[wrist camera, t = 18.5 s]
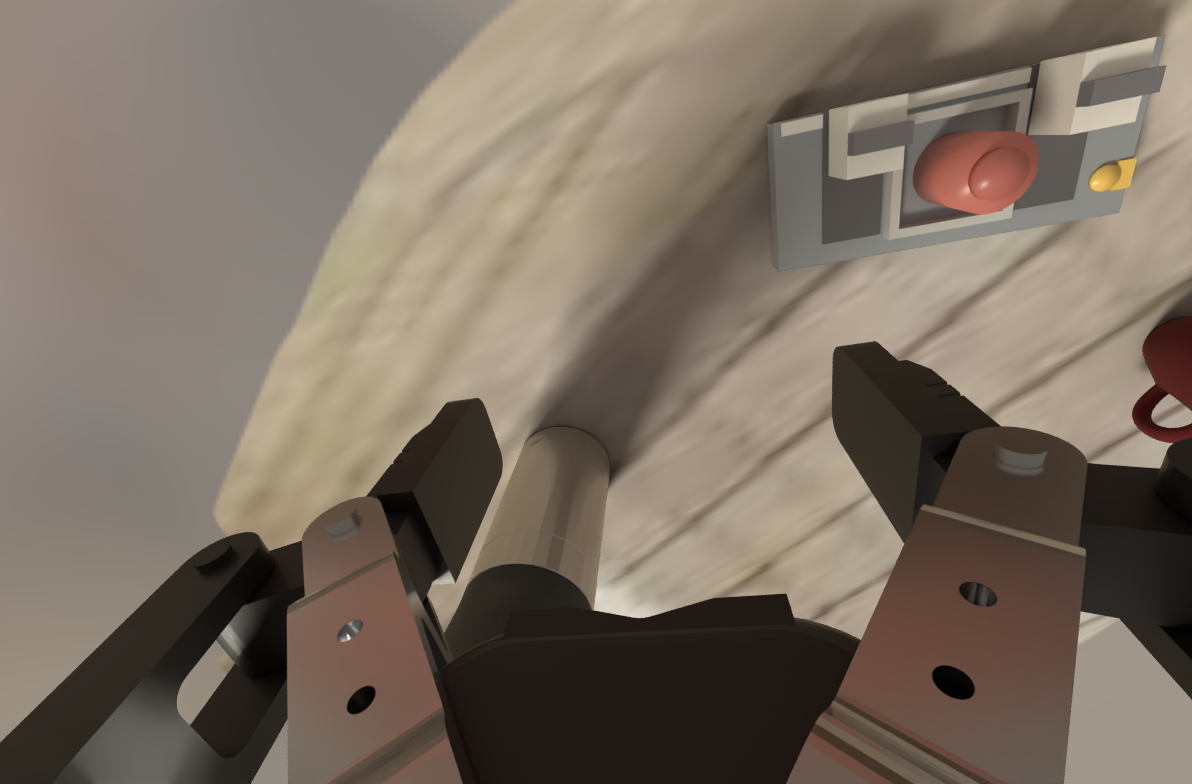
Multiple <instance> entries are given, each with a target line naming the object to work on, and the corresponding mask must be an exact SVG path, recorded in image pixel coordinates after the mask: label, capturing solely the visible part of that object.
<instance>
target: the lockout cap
mask: <svg viewBox="0 0 1192 784" xmlns="http://www.w3.org/2000/svg"><path fill="white" fill-rule="evenodd" d="M1038 165H1039V153H1038V149H1037V146H1036V144H1035V143H1034V141H1033V140H1032V139H1031V138H1030V137H1028V136H1027V135H1025V134H1023V133H1020V132H1016V131H966V132H952V133H948V134H945V135H943V136H941V137H939V138H937V139H936V140H934V141H933V142H932V143H930V144H929V145H928V146H927V147H926V148H925V149H924V151H923V152H922V153H921V155H920V156H919V158H918V160H917V162H916V164H915V167H914V170H913V186H914V189H915V191H916V193H917V194H918V196H919V197H920V198H922V199H923V200H925V201H927V202H929V203H933V204H937V205H941V206H945V207H949V208H953V209H958V210H962V211H966V212H970V213H974V214H990V213H994V212H997V211H1000V210H1002V209H1004V208H1006V207H1008V206H1010V205H1011V204H1013V203H1014V202H1015V201H1017V200H1018V199H1019V198H1020V197H1021V196H1022V195H1023V194H1024V193H1025V192H1026V190H1027V189H1028V188H1029V186H1030V185H1031V183H1032V182H1033V180H1034V178H1035V175H1036V173H1037V170H1038Z"/></svg>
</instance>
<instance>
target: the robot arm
mask: <svg viewBox="0 0 1192 784" xmlns="http://www.w3.org/2000/svg"><path fill="white" fill-rule="evenodd" d="M832 418H833V424H834V429H835V432H836V435H837V437H838V439H839V441H840V443H841V444H842V446H843V447H844V449H845V451H846V452H847V454H848V455H849V457H850V458H851V460H852V462H853V463H854V465H855V466H856V468H857V470H858V471H859V473H860V474H861V476H862V477H863V479H864V481H865V482H866V484H867V485H868V487H869V489H870V490H871V492H872V493H873V495H874V496H875V498H876V500H877V501H878V503H879V504H880V506H881V508H882V509H883V511H884V512H885V514H886V515H887V517H888V519H889V520H890V522H891V523H892V525H893V527H894V528H895V530H896V531H897V533H898V534H899V536H900V538H901V539H902V541H903V542H904V546H903V548H902V550H901V553H900V555H899V557H898V559H897V561H896V564H895V566H894V568H893V570H892V573H891V575H890V577H889V579H888V582H887V584H886V586H885V588H884V590H883V593H882V595H881V597H880V599H879V602H878V604H877V606H876V608H875V610H874V613H873V615H872V617H871V619H870V622H869V624H868V626H867V628H866V630H865V633H864V635H863V637H862V639H861V640H860V639H858V638H856V637H854V636H852V635H850V634H848V633H846V632H843V631H840V630H838V629H835V628H832V627H830V626H827V625H824V624H820V623H817V622H813V621H809V620H805V619H800V618H795V617H793V614H792V610H791V607H790V604H789V600H788V597H787V594H773V595H757V596H740V597H724V598H712V599H709V600H705V601H702V602H699V603H695V604H692V605H688V606H685V607H681V608H678V609H675V610H671V611H668V612H664V613H661V614H657V615H654V616H651V617H646V618H632V617H627V616H621V615H616V614H610V613H605V612H599V611H594V603H595V594H596V586H597V575H598V567H599V558H600V550H601V541H602V533H603V525H604V516H605V508H606V499H607V492H608V483H609V475H610V462H609V458H608V455H607V453H606V451H605V449H604V448H603V446H602V445H601V444H600V443H599V442H598V441H597V440H596V439H595V438H593V437H592V436H591V435H589V434H587V433H585V432H584V431H581V430H578V429H575V428H570V427H551V428H547V429H544V430H541V431H539V432H537V433H535V434H534V435H533V436H532V437H530V438H529V439H528V441H527V442H526V443H525V444H524V447H523V449H522V451H521V453H520V456H519V458H518V461H517V463H516V466H515V468H514V470H513V473H512V475H511V477H510V480H509V482H508V485H507V487H506V490H505V492H504V495H503V497H502V500H501V502H500V505H499V507H498V510H497V512H496V515H495V517H494V520H493V522H492V525H491V527H490V530H489V532H488V534H487V537H486V539H485V542H484V544H483V547H482V549H481V552H480V555H479V557H478V560H477V562H476V565H475V567H474V570H473V572H472V575H471V577H470V580H469V582H468V585H467V587H466V590H465V592H464V595H463V597H462V600H461V602H460V604H459V606H458V608H457V610H456V612H455V614H454V616H453V618H452V620H451V622H450V623H449V625H448V627H447V629H446V631H445V633H443V630H442V628H441V625H440V623H439V620H438V617H437V615H436V612H435V610H434V607H433V605H432V603H431V601H430V599H429V597H428V595H427V593H428V591H429V589H430V587H431V585H437V584H451V583H456V581H457V578H458V576H459V574H460V571H461V569H462V567H463V564H464V562H465V560H466V557H467V555H468V553H469V550H470V548H471V546H472V543H473V541H474V539H475V536H476V534H477V532H478V529H479V527H480V525H481V522H482V520H483V518H484V515H485V513H486V511H487V508H488V506H489V504H490V501H491V499H492V497H493V494H494V492H495V490H496V487H497V485H498V483H499V480H500V478H501V475H502V467H503V463H502V455H501V451H500V448H499V445H498V443H497V440H496V437H495V434H494V431H493V428H492V425H491V422H490V420H489V417H488V414H487V411H486V408H485V406H484V404H483V402H482V401H481V400H480V399H479V398H473V399H466V400H459V401H452V402H447V403H446V404H445V405H444V407H443V408H442V409H441V410H440V412H439V413H438V414H437V416H436V417H435V418H434V420H433V421H432V422H431V424H429V425H428V426H427V427H425V428H424V429H423V430H421V431H420V432H419V433H417V434H416V435H415V436H413V437H412V438H411V440H410V441H409V442H408V443H407V445H406V446H405V447H404V449H403V450H402V453H400V454H399V455H398V456H397V457H396V459H395V460H394V461H393V463H394V464H392V465H390V466H389V468H388V469H387V470H386V472H385V473H384V474H383V475H382V477H381V478H380V479H379V481H378V482H377V483H376V484H375V486H374V487H373V488H372V490H371V491H370V492H369V493H368V495H367V496H366V497H358V498H354V499H350V500H347V501H345V502H342V503H340V504H338V505H336V506H334V507H332V508H330V509H329V510H327V511H325V512H324V513H322V514H321V515H320V516H319V517H317V518H316V519H315V520H314V521H313V522H312V523H311V524H310V525H309V526H308V528H307V529H306V530H305V532H304V534H303V537H302V541H299V542H296V543H293V544H290V545H287V546H284V547H281V548H277V549H274V550H271V551H269V550H268V549H267V547H266V546H265V544H264V543H263V541H262V540H261V538H260V537H259V536H258V535H257V534H256V533H253V532H244V533H239V534H235V535H231V536H229V537H226V538H223V539H221V540H219V541H217V542H215V543H213V544H211V545H209V546H207V547H206V548H204V549H202V550H201V551H199V552H198V553H197V554H195V555H194V556H192V557H191V558H190V559H189V560H187V561H186V562H185V563H184V564H183V565H182V566H181V567H180V568H179V569H178V570H177V571H176V572H175V573H174V574H173V575H172V576H170V577H169V578H168V579H167V580H166V581H165V582H164V583H163V584H162V585H161V586H160V587H159V588H158V589H157V590H156V591H155V592H154V593H153V594H152V595H151V596H150V597H149V598H148V599H147V600H146V601H145V602H144V603H143V604H142V605H141V606H140V607H139V608H138V609H137V610H136V611H135V612H134V613H133V614H132V615H130V617H129V618H127V619H126V620H125V621H124V622H123V623H122V624H121V625H120V626H119V627H118V628H117V629H116V630H115V631H114V632H113V633H112V634H111V635H110V636H109V637H108V638H107V639H106V640H105V641H104V642H103V643H102V644H101V645H100V646H99V647H98V648H97V649H96V650H95V651H94V652H93V653H92V654H91V655H89V656H88V658H86V660H84V661H83V662H82V663H81V664H80V665H79V666H78V667H77V668H76V669H75V670H74V671H73V672H72V673H71V674H70V675H69V676H68V677H67V678H66V679H65V680H64V681H63V682H62V683H61V684H60V685H59V686H58V687H57V688H56V689H55V690H54V691H53V692H52V693H51V694H50V695H49V696H47V697H46V698H45V699H44V701H42V702H41V703H40V704H39V705H38V706H37V707H36V708H35V709H34V710H33V711H32V712H31V713H30V714H29V715H28V716H27V717H26V718H25V719H24V720H23V721H22V722H21V723H20V724H19V725H18V726H17V727H16V728H15V729H14V730H13V731H12V732H11V733H10V734H9V735H7V736H6V737H5V738H4V739H3V741H1V742H0V784H251V782H252V780H253V779H254V777H255V775H256V773H257V772H258V770H259V768H260V766H261V765H262V763H263V761H264V759H265V757H266V756H267V754H268V752H269V750H270V749H271V747H272V745H273V743H274V742H275V740H276V738H277V736H278V734H279V733H280V731H281V729H282V728H283V726H284V724H285V722H286V720H287V719H288V784H1064V776H1065V766H1066V756H1067V745H1068V735H1069V725H1070V715H1071V704H1072V694H1073V684H1074V673H1075V664H1076V653H1077V643H1078V633H1079V623H1080V612H1081V611H1082V612H1087V613H1093V614H1099V615H1104V616H1110V617H1115V618H1120V620H1121V621H1122V622H1123V623H1124V624H1125V625H1126V626H1127V628H1128V629H1129V630H1130V631H1131V632H1132V633H1133V634H1134V635H1135V637H1136V638H1137V639H1138V640H1139V641H1140V642H1141V643H1142V644H1143V645H1144V647H1145V648H1146V649H1147V650H1148V651H1149V652H1150V653H1151V654H1152V656H1153V657H1154V658H1155V659H1156V660H1157V661H1158V662H1159V663H1160V664H1161V666H1162V667H1163V668H1164V669H1165V670H1166V671H1167V672H1168V673H1169V675H1170V676H1171V677H1172V678H1173V679H1174V680H1175V681H1176V682H1177V683H1178V684H1179V686H1180V687H1181V688H1182V689H1183V690H1184V691H1185V692H1186V694H1187V695H1188V696H1189V697H1190V698H1191V699H1192V438H1189V439H1184V440H1180V441H1178V442H1176V443H1174V444H1172V445H1171V446H1170V447H1169V448H1168V450H1167V452H1166V455H1165V458H1164V460H1163V463H1162V465H1161V468H1160V469H1157V468H1143V467H1130V466H1116V465H1102V464H1092V463H1087V460H1086V458H1085V456H1084V455H1083V454H1082V452H1081V451H1080V450H1078V449H1077V448H1076V447H1075V446H1073V445H1072V444H1070V443H1068V442H1066V441H1064V440H1062V439H1060V438H1058V437H1055V436H1053V435H1050V434H1047V433H1043V432H1040V431H1036V430H1031V429H1026V428H1019V427H1006V426H1002V427H1001V426H1000V425H999V424H998V423H996V422H995V421H994V420H993V419H991V418H990V417H989V416H988V415H987V414H985V413H984V412H983V411H982V410H980V409H979V408H978V407H977V406H976V405H974V404H973V403H972V402H971V401H969V400H968V399H967V398H966V397H965V396H960V392H958V391H957V390H956V389H955V388H954V387H952V386H951V385H947V382H946V381H945V380H944V379H943V378H941V377H940V376H939V375H938V374H937V373H935V372H934V371H933V370H932V369H929V368H927V367H924V366H921V365H919V364H916V363H914V362H911V361H908V360H903V361H898V360H897V359H896V358H894V357H893V356H892V355H891V354H890V353H889V352H888V351H887V350H886V349H884V348H883V347H882V346H881V345H880V344H879V343H877V342H875V341H874V342H867V343H860V344H853V345H846V346H839V347H836V348H835V350H834V353H833V375H832ZM215 640H217V642H218V643H219V644H220V645H221V647H222V648H223V649H224V650H225V651H226V653H227V654H228V655H229V656H230V657H231V659H232V660H233V661H234V662H235V664H234V666H233V667H232V669H231V670H230V671H229V673H228V674H227V675H226V677H225V678H224V680H223V681H222V682H221V684H220V685H219V686H218V688H217V689H216V691H215V692H214V693H213V695H212V696H211V697H210V699H209V700H208V702H207V703H206V705H205V706H204V707H203V708H202V710H201V711H200V713H199V714H198V716H197V717H196V718H195V719H194V721H193V722H192V724H191V725H189V724H188V723H187V722H186V721H185V720H184V719H183V718H182V717H181V716H180V715H179V712H178V710H177V695H178V692H179V688H180V686H181V684H182V682H183V680H184V679H185V678H186V676H187V675H188V674H189V673H190V671H191V670H192V669H193V668H194V666H195V665H196V664H197V663H198V661H199V660H200V659H201V658H202V656H203V655H204V654H205V653H206V651H207V650H208V649H209V648H210V646H211V645H212V644H213V643H214V641H215Z"/></svg>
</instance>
